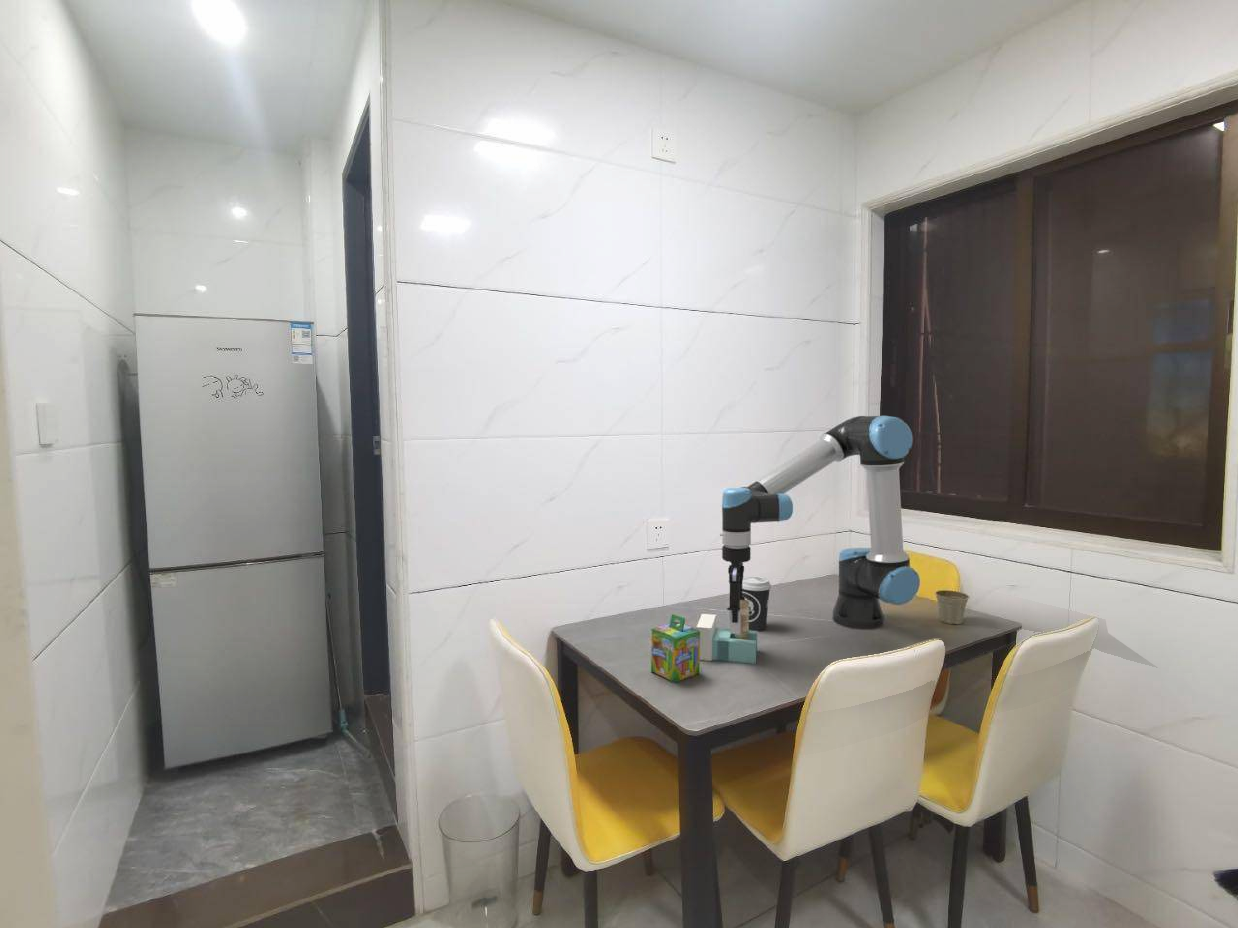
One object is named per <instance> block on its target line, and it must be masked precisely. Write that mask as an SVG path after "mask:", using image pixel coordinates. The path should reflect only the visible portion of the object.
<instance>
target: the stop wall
mask: <svg viewBox="0 0 1238 928" xmlns="http://www.w3.org/2000/svg"><path fill="white" fill-rule="evenodd" d="M716 628H717V614H709V613H702V614H701V616H700V618H699V620H698V622H697V625H696V627H695V629H697V630H699V631H700V661H707V662H711V661H713V660H712V638H713V635H714V632H715V629H716Z"/></svg>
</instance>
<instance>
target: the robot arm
mask: <svg viewBox="0 0 1238 928" xmlns="http://www.w3.org/2000/svg"><path fill="white" fill-rule="evenodd" d="M913 438H914V437H913V433H912V430H911V428H910V426H909V425H908V423H906V422H905V421H904V420H903V419H901V418H900V417H896V416H889V415H857V416H853V417H851V418H849V419H846V420H845V421H843V422H841V423H839V424H838V425H836V426H834V427H832V428H830V429H829V430H828V431H825V432H824V433H823V434H822V435H821V436H820V440H819V441H817V442H816V443H813V444H812V445H811V446H809V447H808V448H806V449H804V450H803V451H800V453H798V454H797V455H795V456H794V457H792V458H790V459H789V460H787V461H786V462H784V463H782V464H781V465H780V466H777V467H776V468H775V469H773V470H772V471H770V472H769V473H767V474H766V475H764V476H762V477H761V478H758V480H756V481H754V482H753V483H751V484H750V485H748V486H740V487H730V488H725V489H724V490H723V492H722V497H721V498H722V499H721V512H722V515H721V516H722V518H721V519H722V522H721V524H722V525H721V528H722V529H721V532H720V534H719V535H720V537H721V541H722V544H723V546H722V547H721V548H722V549H721V554H722V555H721V558H722V560H724V561H725V562H729V563H731V564H729V567H728V570H727V571H728V574H729V575H728V583H729V606H728V607H727V608H726V609H727V611H729V629H730V633H731V634H740V600H745V598H744V597H742V596H743V593H742V581H743V578H744V573H745V566H744V563H747V562H749V561H751V559H752V558H751V557H752V556H751V554H752V553H751V550H752V548H751V547H750V546H751V544H752V543H751V542H752V541H751V540H752V539H751V538H752V536H751V535H752V534H751V530H752V528H751V526H752V524H755V523H768V522H769V523H773V522H774V523H775V522H777V523H779V522H783V521H788V520H790V519H791V518H792V515H793V513H794V503H793V500H792V498H791V497H790V496H789V494H787V493H788V492H789V491H790V490H792V489H794V488H795V487H797V486H798V485H801V483H802V482H805V481H806V480H808V479H809V478H810V477H812V476H814V475H815V474H816V473H819V472H820V471H821V470H823V469H824V468H826V467H827V466H829V465H831V464H832V463H834V462H837V463H839V462H841V461H843V460H845V459H847V458H850V457H852V456H859V461H860V462H859V463H860V466H861V467H863V468H864V470H865V471H866V485H867V486H866V487H867V502H868V503H867V505H868V520H869V522H868V523H869V533H870V535H869V536H870V539H869V540H870V547H853V548H852V547H850V548H844V549H842V550H841V551H840V552H839V555H838V556H839V557H838V595H837V598H836V601H835V604H834V606H833V609H832V615H831V616H832V621H833V622H835V623H837V625H841V626H845V627H849V628H854V629H863V630H865V629H866V630H868V629H869V630H871V629H877V628H881V627H882V626H884V624H885V622H884V621H885V615H884V613H883V609H882V606H881V603H880V600H881V601H882V602H884V603H886V604H891V605H893V606H901V605H905V604H907V603H909V602H910V601H912V600H913V599H914V596H916V595H917V593H918V591H919V589H920V584H921V579H920V575H919V574H918V572H917V571H916V569H914V568H912V567H911V562H910V561H911V559H910V554H908V553H907V551H905V550H904V541H903V540H904V539H903V537H904V536H903V524H902V523H903V522H902V520H903V518H902V502H901V501H902V500H901V486H900V485H901V482H900V480H901V479H900V468H901V467H902V466H903V464H905V457H906V456H907V455H908V454H909V453H910V450H911V449H912V446H913V443H914V442H913V440H914V439H913Z"/></svg>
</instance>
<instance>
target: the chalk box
mask: <svg viewBox="0 0 1238 928" xmlns="http://www.w3.org/2000/svg"><path fill="white" fill-rule="evenodd" d="M669 621H670V622H669V623H667V624H663V625H660V626H657V627H654V628H651V657H650V659H651V661H650V664H651V667H650V672H652V673H654V674H657V675H658V676H660V677H662V678H664V679H666V680H669V681H670V682H673V683H674V684H676V683H678V682H681V681H683V680H686V679H688V678H691V677H693V676H696V675H699V674H700V665H701V664H700V662H701V660H700V631H699V630H697V629H696V627H692V626H690V625H687V624H685V622H686V618H685V617H683V616H681V615H677V614H674V613H673V614H671V617H670V620H669Z"/></svg>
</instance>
